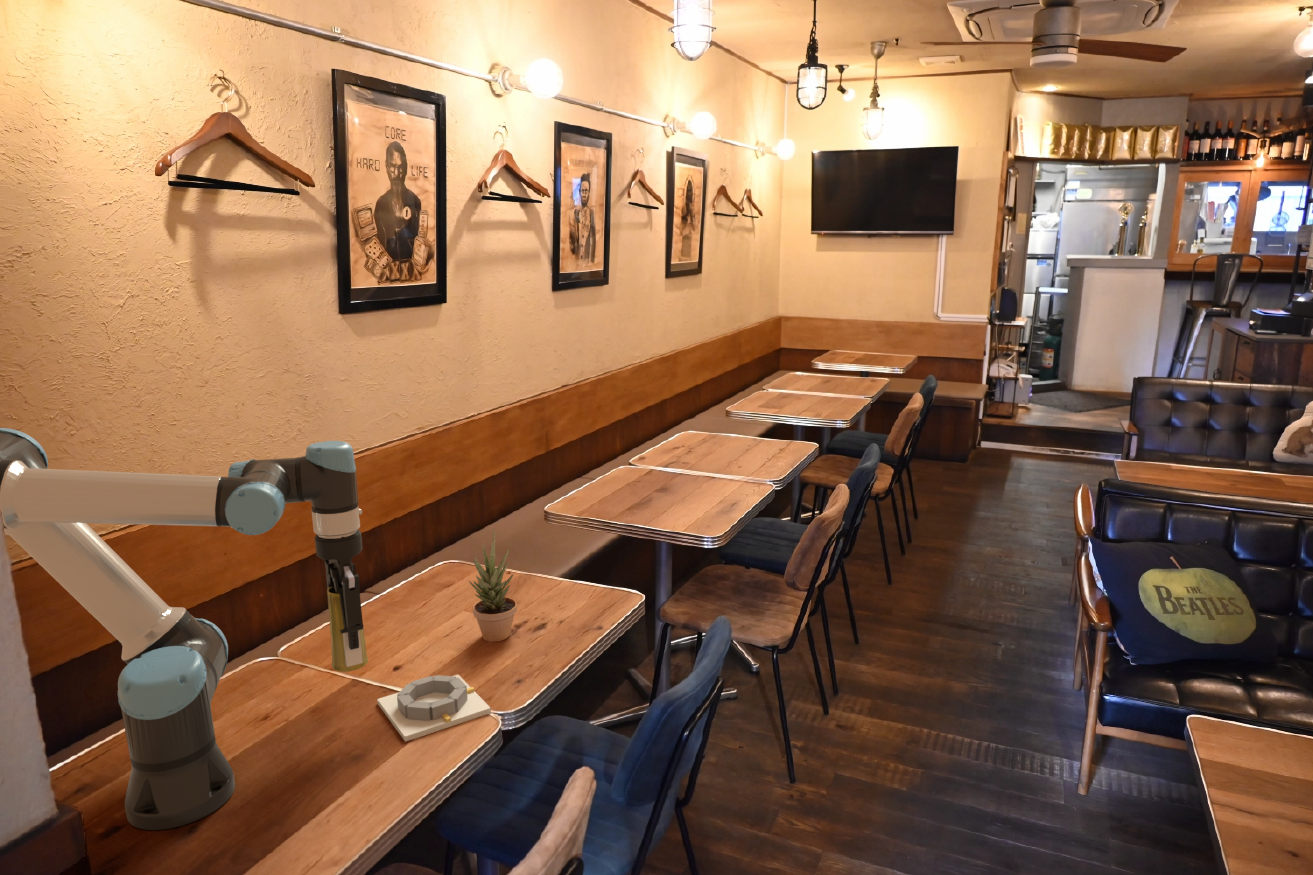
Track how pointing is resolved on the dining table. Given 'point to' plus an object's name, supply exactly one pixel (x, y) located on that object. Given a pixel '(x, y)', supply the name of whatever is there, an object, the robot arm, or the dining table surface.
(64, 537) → the robot arm
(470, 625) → the dining table surface
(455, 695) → the socket
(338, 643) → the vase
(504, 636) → the potted plant
